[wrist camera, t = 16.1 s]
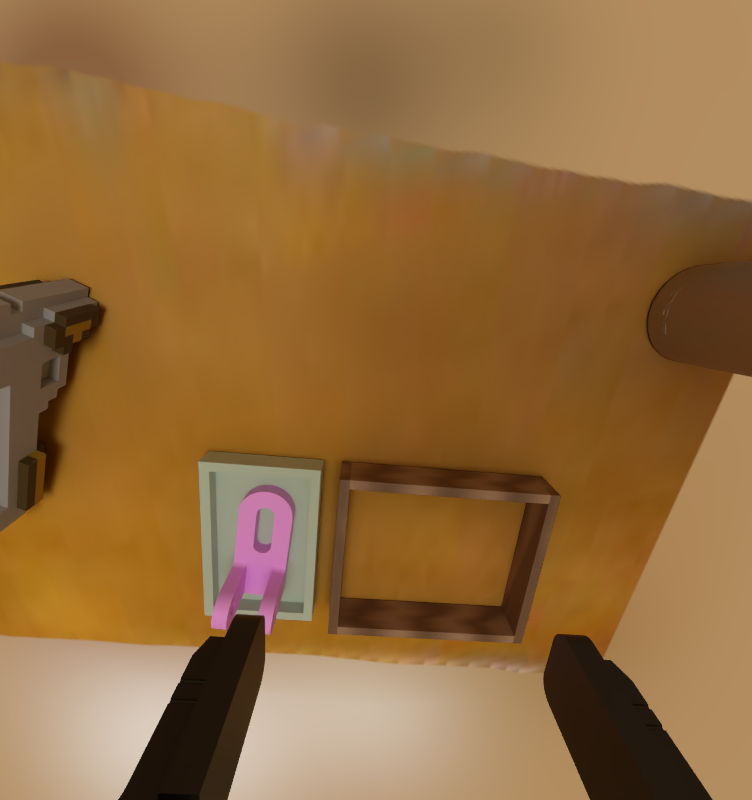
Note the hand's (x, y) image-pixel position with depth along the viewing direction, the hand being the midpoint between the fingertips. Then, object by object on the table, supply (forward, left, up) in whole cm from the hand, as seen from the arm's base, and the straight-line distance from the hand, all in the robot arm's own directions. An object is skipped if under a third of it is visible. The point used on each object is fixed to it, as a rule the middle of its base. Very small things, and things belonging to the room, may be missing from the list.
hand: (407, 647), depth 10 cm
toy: (+32, +4, -28) cm, 43 cm away
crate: (-8, +17, -27) cm, 33 cm away
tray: (+11, +17, -27) cm, 34 cm away
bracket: (+11, +17, -27) cm, 34 cm away
